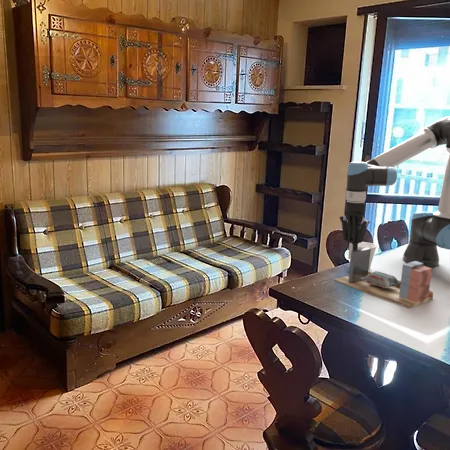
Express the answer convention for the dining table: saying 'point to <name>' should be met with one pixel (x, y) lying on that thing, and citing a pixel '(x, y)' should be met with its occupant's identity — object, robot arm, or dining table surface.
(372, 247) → the cup
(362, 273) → the bookend
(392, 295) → the wooden book rack
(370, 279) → the packaged food
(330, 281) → the dining table surface
